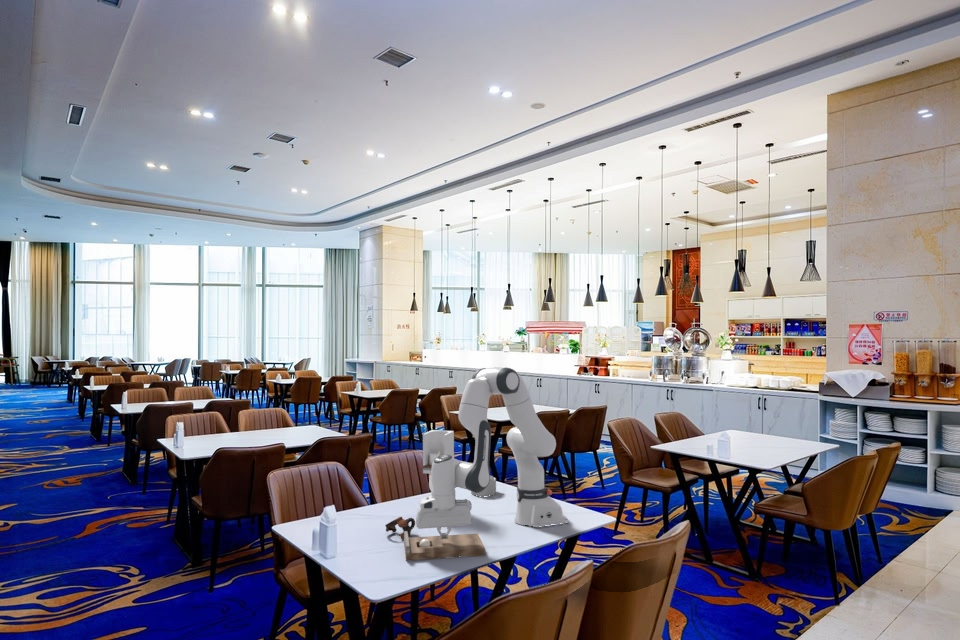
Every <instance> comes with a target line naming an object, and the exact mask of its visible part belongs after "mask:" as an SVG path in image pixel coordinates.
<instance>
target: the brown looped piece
mask: <svg viewBox="0 0 960 640" xmlns="http://www.w3.org/2000/svg"><path fill="white" fill-rule="evenodd" d="M410 522H411V523H410ZM409 524H410V525H409ZM396 526H398V528H400V529H402V530H403V532H401V533H400V534H399V536H400V539H401V540H402V541H403V540H404V531H407V532H408V538H410V537H411V536H412V535H411V532H412V530H413V529H414V528H415V526H416V520H415V518H413V517H409V518H407V519H404V518H403V516H399V517H398V518H396V519H393V520H391V521H390V522H388V523H386V524H385V532H388V533H389V531H390V532H392V533H393V532H395V533H396V532H397V528H396Z"/></svg>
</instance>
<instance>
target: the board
mask: <svg viewBox="0 0 960 640" xmlns="http://www.w3.org/2000/svg"><path fill="white" fill-rule="evenodd" d="M403 532H404V539H403V540H404V541H403V543H404V544H403V546H404V554H405V562H406V561H407V560H412V561H421V560H420V559H426V560H435V559H436V560H437V558H440V559H447V558H446V557H454V558H460V557H459V556H468V557H479V556H481V557H482V556H486V548H485V545H484V543H483V541H482V538H481V537H480V535H479V533H477V532H476V533H461V534H448V539H440V535H431V536H416V537H413V536H412V537H408V532H407V531H403ZM423 539H428V540H429V541H430V547H420V546H419V544H420V541H421V540H423ZM407 562H408V561H407Z"/></svg>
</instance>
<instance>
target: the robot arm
mask: <svg viewBox="0 0 960 640" xmlns="http://www.w3.org/2000/svg"><path fill="white" fill-rule="evenodd" d="M492 395H493V396H498V395H502V398H503V402H504V406H505V409H506V411H507V414H508V417H509V421H510V422H511V423H512V424H513V425H514V426H513V427H512V428H510V429H509V431H508V432H507V434H506V444H507V446H508V447H509V448H510V450H511V451H512V453H513V457H514V461H515V464H516V468H517V487H516V500H517V505H516V513H515V516H514V522H515V523H516V524H517V525H518V524H519V525H521V526H525V525H529V526H528V527H531V526H533V527H532V528H534V527H539V526H545V525H551V524H560V523H566V522H568V523H569V518H568V517H567V516H566V515H565V514H563V513H564V512H563V509H562V506H561V504H559V502H557V501H556V500H555V499H554V498H552V497H551V495H552V494H553V491H552V490H551V489H549V488H548V487H546V486H545V469H544V467H543V465H542V463H540V461H539V458H544V457H550V456H551V455H553V454H554V452H555V450H556V447H557V442H556V441H557V440H556V438H555V436H554V434H552V433H551V432H549V430H548V429H547V428H546V427H545V426H544V424H543V423H542V421H541V419H540V418H539V417H538V416H539V415H538V414H537V412H536V410H535V407H534V403H533V402H532V401H533V400H532V399H531V395H530V393H529V390H528V387H527V385H526V383H525V381H524V379H523V377H522V376H521V375H519V374H518V372H516V370H515V369H513V368H510V367H501V366H500V367H498V366H494V367H487V368H485V367H484V368H483V367H482V368H479V369H477V370H475V372H474V373H473V375H472V377H471V379H469V380H468V381H467V383H466V385H465V387H464V390H463V392H462V396H461V399H460V404H459V406H458V407H459V408H458V414H457V415H458V416H457V417H458V421H459V423H460V424H461V426H462V427H464V429H466V430H468V432H470V433H471V434H472V436H473V437H474V440H475V441H474V442H475V444H474V445H475V446H474V455H473V456H474V459H473V462H467V461H465V460H464V461H463V460H460V459H459V460H458V459H457V458H455V457H454V458H453V457H452V456H451V455H440V456H438V457H436V458H435V459H434V460H433V463H432V469H431V482H432V491H430V493H431V494H430V495H428V496H425V497H423V498H420V499H419V506H418V508H417V511H416V518H415V519H416V520H415V526H416V528H417V529H419V530H420V529H421V530H422V529H435V528H436V530H437V532H438V534H439V536H440V539H448V535H450V533H451V531H452V528H453V527H463V526H465V527H467V526H470V525H471V524H472V514H471V510H472V507H473V505H472V502H471V501H470V500H469V499H465V498H464V499H457V498H456V488H459V489H464V490H467V491H470V492H471V491H472V492H475V493H479V492H481V491H483V490H484V489H485V488H486V487H487V486H488V484H489V481H490V476H491V474H490V473H491V471H490V457H491V439H492V428H491V425H490V423H489V421H488V409H489V405H490V404H489V403H490V398H491V397H492ZM442 528H446V529H447V530H446V531H445V532H442V531H441V530H442Z"/></svg>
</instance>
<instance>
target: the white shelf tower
mask: <svg viewBox="0 0 960 640" xmlns="http://www.w3.org/2000/svg"><path fill="white" fill-rule="evenodd" d="M454 432H455V431H454V430H437V429H436V430H435V429H431V430H429V431H427V432H424V433H423V434H422V474H429V475H428V478H429V479H428V480H429V481H428V487H429V490H430V492H432V482H431V469H432V463H433V460H434V459H435V458H436V457H438V456H440V455H451V456H452V457H453V458H454V459H455V433H454Z"/></svg>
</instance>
